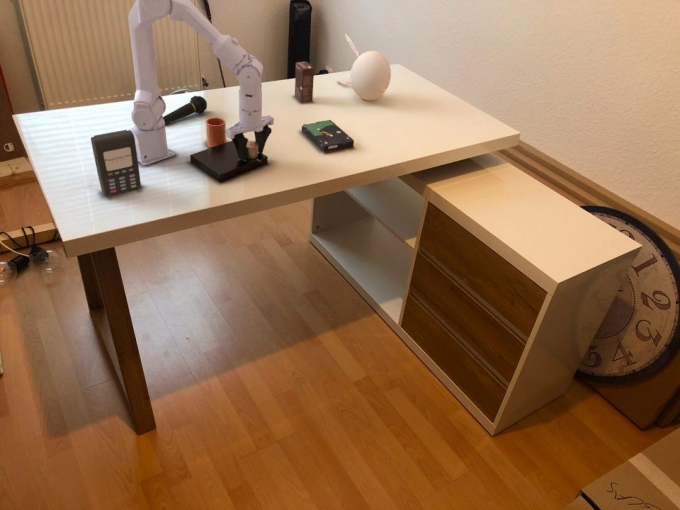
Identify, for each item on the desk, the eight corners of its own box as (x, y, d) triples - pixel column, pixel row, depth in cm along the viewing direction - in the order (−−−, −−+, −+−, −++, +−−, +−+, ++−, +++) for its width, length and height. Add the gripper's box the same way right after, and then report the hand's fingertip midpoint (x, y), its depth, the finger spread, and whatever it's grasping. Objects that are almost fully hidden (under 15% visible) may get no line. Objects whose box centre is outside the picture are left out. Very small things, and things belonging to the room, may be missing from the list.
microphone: (157, 139, 163) (210, 113, 174) (157, 125, 158) (211, 99, 170) (145, 128, 164) (198, 103, 175) (145, 113, 160) (199, 89, 171)
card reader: (105, 199, 131) (93, 142, 122) (99, 191, 134) (88, 135, 125) (143, 190, 136) (135, 134, 127) (137, 182, 138) (128, 127, 129)
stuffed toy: (407, 61, 182) (362, 28, 194) (375, 70, 175) (330, 35, 188) (396, 111, 195) (355, 77, 208) (366, 121, 189) (325, 85, 202)
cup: (214, 150, 155) (213, 127, 151) (203, 143, 158) (202, 120, 153) (229, 145, 158) (229, 122, 154) (218, 138, 161) (217, 115, 157)
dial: (240, 155, 149) (239, 142, 147) (251, 150, 152) (251, 138, 150) (249, 160, 147) (249, 148, 145) (261, 156, 150) (261, 143, 148)
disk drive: (354, 148, 165) (329, 127, 174) (355, 140, 163) (330, 118, 172) (323, 154, 160) (300, 131, 169) (324, 145, 158) (301, 123, 168)
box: (293, 96, 190) (295, 62, 182) (305, 95, 192) (307, 61, 184) (300, 103, 186) (302, 68, 178) (312, 102, 188) (315, 67, 180)
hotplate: (223, 184, 142) (222, 175, 140) (190, 163, 149) (189, 154, 147) (271, 165, 152) (272, 156, 150) (239, 145, 159) (239, 137, 157)
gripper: (238, 120, 135) (239, 168, 143) (282, 106, 144) (280, 152, 152) (220, 110, 138) (222, 158, 147) (264, 97, 147) (263, 143, 155)
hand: (250, 154), depth 150 cm, fingers open, 6 cm apart
